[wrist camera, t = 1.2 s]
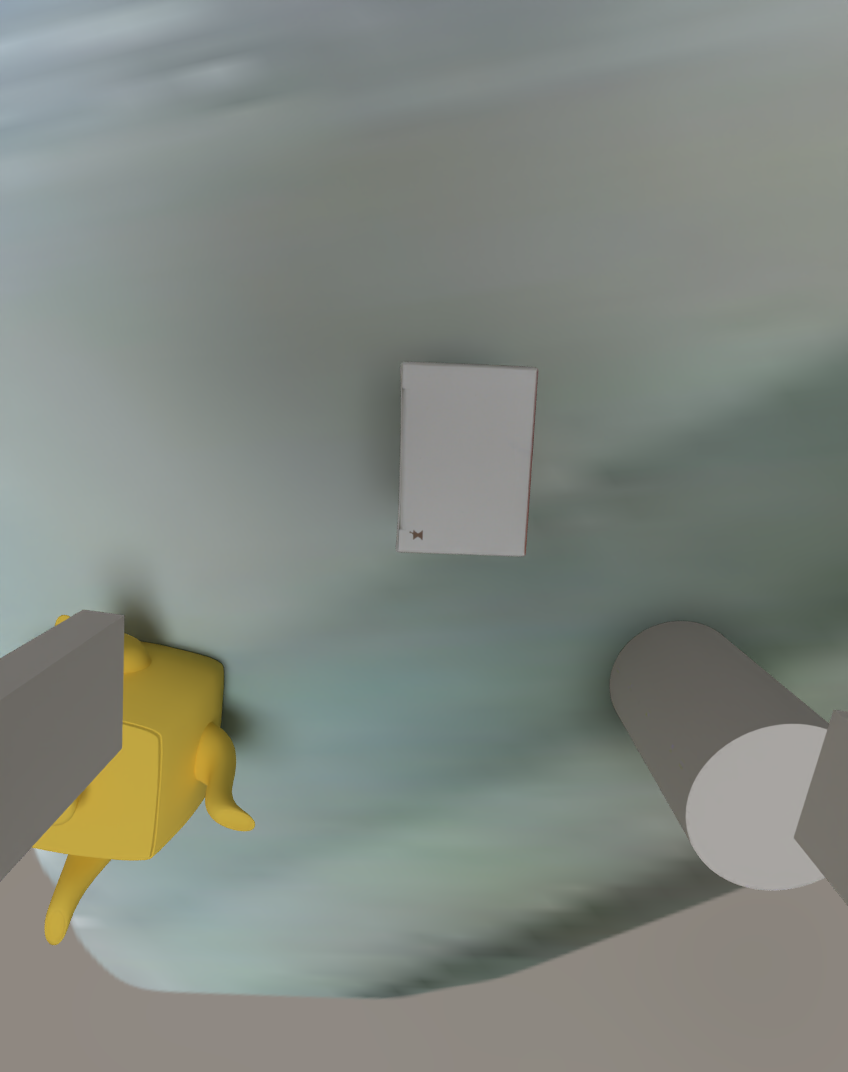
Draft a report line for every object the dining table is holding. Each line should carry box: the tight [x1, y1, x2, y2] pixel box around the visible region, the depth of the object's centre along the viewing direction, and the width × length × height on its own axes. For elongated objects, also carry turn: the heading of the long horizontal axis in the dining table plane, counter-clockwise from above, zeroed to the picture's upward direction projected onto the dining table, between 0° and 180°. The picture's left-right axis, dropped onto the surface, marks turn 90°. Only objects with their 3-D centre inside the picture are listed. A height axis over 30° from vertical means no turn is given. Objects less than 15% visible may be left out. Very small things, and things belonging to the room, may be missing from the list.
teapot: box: [32, 615, 255, 945], centre depth 34 cm, size 15×14×10 cm
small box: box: [396, 362, 538, 557], centre depth 30 cm, size 8×6×10 cm
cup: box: [610, 621, 829, 890], centre depth 32 cm, size 8×8×12 cm
